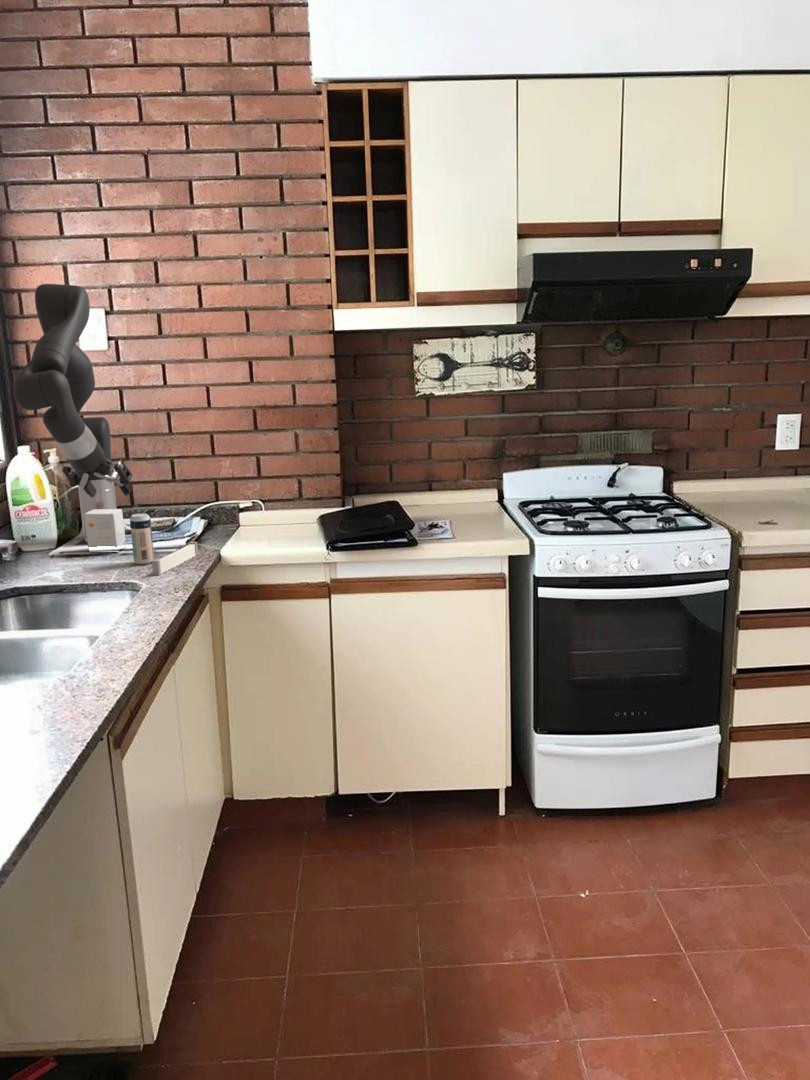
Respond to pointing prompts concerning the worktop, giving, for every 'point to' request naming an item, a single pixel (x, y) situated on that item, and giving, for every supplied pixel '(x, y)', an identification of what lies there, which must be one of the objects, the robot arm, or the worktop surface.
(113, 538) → the small box
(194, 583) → the worktop surface
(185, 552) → the rail
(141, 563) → the beige blue canister
